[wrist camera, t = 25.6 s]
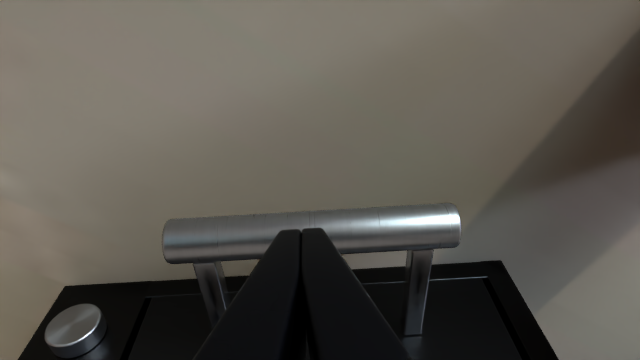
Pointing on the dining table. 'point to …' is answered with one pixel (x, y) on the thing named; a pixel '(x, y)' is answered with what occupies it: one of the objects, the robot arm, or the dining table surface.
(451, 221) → the tray
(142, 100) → the dining table surface
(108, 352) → the toaster oven
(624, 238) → the dining table surface
